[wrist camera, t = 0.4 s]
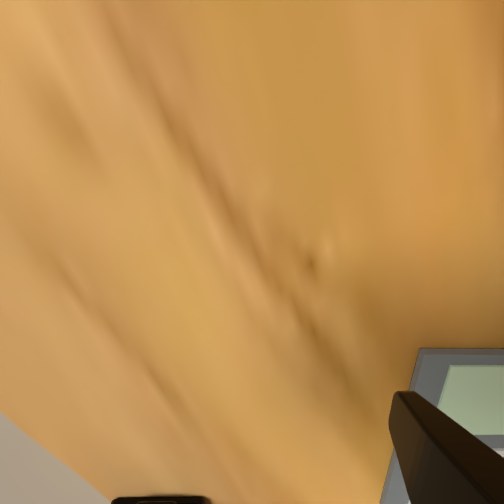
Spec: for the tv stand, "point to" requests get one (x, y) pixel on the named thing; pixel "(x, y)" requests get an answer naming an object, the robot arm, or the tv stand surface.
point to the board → (457, 400)
